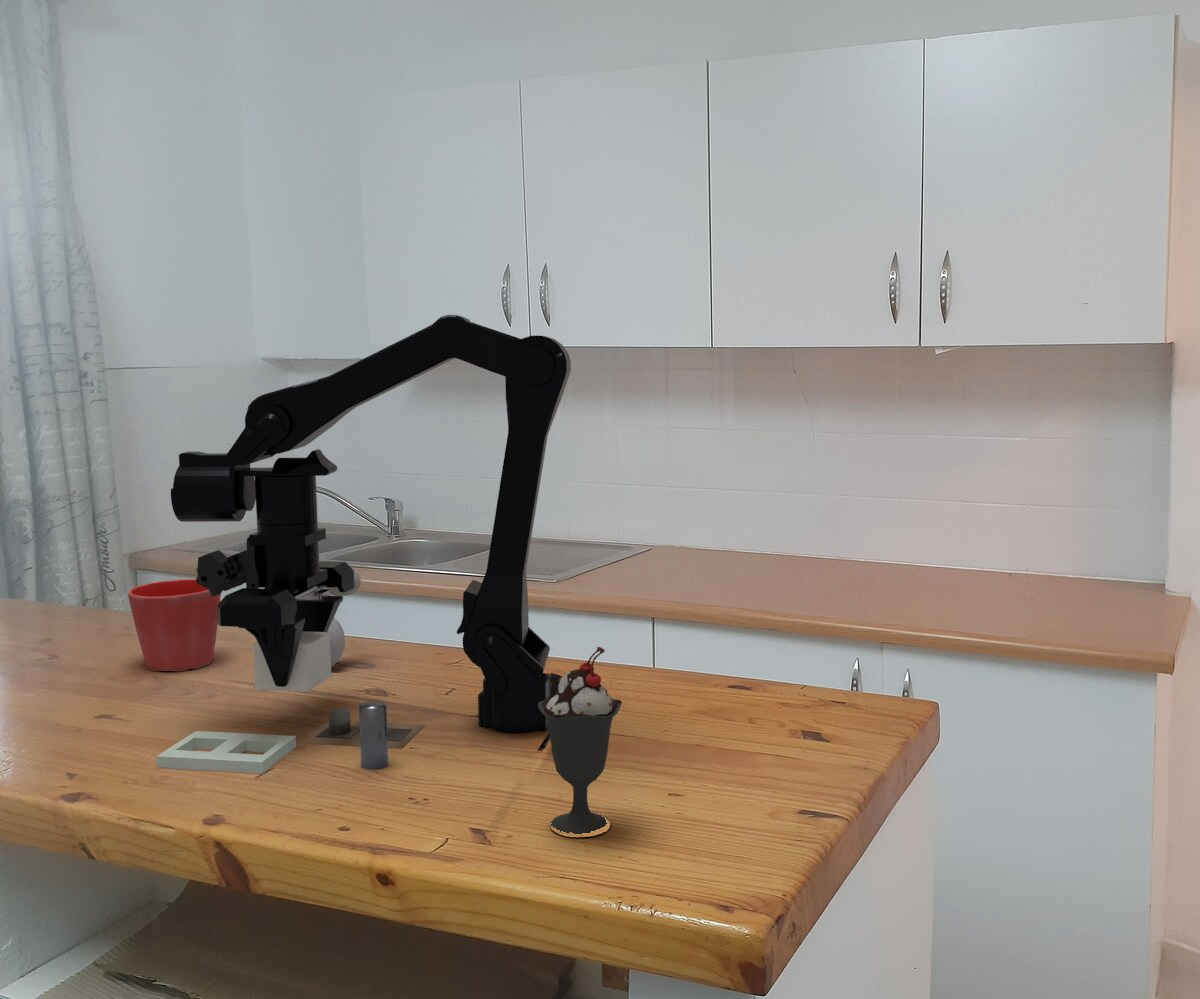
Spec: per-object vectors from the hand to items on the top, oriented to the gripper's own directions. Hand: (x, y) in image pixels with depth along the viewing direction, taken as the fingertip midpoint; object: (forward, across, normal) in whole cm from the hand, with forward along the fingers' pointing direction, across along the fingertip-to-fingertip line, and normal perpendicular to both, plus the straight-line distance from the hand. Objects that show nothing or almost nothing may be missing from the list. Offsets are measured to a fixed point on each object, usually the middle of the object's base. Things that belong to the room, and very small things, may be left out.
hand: (294, 677), depth 115 cm
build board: (+6, +10, -2) cm, 12 cm away
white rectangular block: (0, 0, 0) cm, 0 cm away
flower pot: (+6, -24, -26) cm, 36 cm away
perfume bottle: (+6, -25, -8) cm, 27 cm away
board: (+6, +2, +8) cm, 10 cm away
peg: (+6, +10, +12) cm, 17 cm away
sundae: (+6, +17, +32) cm, 37 cm away
